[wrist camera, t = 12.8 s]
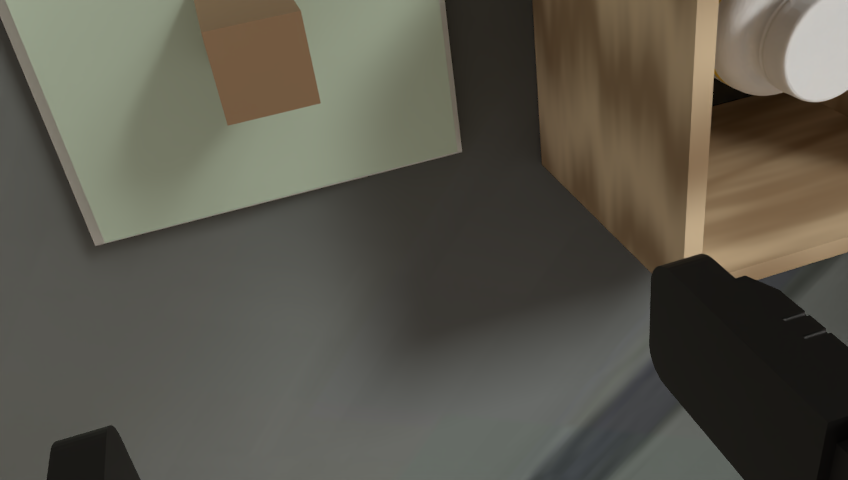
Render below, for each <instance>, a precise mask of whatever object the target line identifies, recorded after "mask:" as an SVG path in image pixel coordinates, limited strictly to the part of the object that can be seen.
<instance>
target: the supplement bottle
mask: <svg viewBox="0 0 848 480" xmlns="http://www.w3.org/2000/svg"><path fill="white" fill-rule="evenodd" d="M714 78H716V79H717V80H719V81H721V82H723V83H724V84H727V85H728V86H730V87H732V88H734V89H737V90H739V91H741V92H744V93H747V94H751V95H756V96H769V95H775V94H779V93H783V92H784V93H787V94H789V95H791V96H793V97H795V98H797V99H800V100H802V101H806V102H823V101H827V100H830V99H833V98H835V97H837V96H839V95H841V94H842V93H844V92H846V91H847V90H848V0H719V7H718V23H717V38H716V53H715V68H714Z"/></svg>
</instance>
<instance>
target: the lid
mask: <svg viewBox="0 0 848 480" xmlns="http://www.w3.org/2000/svg"><path fill="white" fill-rule="evenodd" d="M5 1H6V3H7V6H8V8H9V10H10V13H11V15H12V18H13V20H14V23H15V25H16V27H17V30H18V32H19V35H20V37H21V40H22V42H23V44H24V47H25V49H26V52H27V54H28V57H29V59H30V62H31V64H32V66H33V69H34V71H35V74H36V76H37V79H38V81H39V83H40V86H41V88H42V91H43V93H44V96H45V98H46V101H47V103H48V105H49V108H50V110H51V113H52V115H53V118H54V120H55V122H56V125H57V127H58V130H59V132H60V135H61V137H62V139H63V142H64V144H65V147H66V149H67V152H68V154H69V157H70V159H71V161H72V164H73V166H74V169H75V171H76V174H77V176H78V178H79V181H80V183H81V186H82V188H83V191H84V193H85V195H86V198H87V200H88V203H89V205H90V208H91V210H92V213H93V215H94V217H95V220H96V222H97V225H98V227H99V230H100V232H101V234H102V237H103V239H104V242H105V243H107V242H110V241H114V240H118V239H122V238H126V237H130V236H134V235H138V234H141V233H145V232H149V231H153V230H157V229H161V228H165V227H168V226H172V225H176V224H180V223H184V222H188V221H192V220H195V219H199V218H203V217H207V216H211V215H215V214H219V213H222V212H226V211H230V210H234V209H238V208H242V207H246V206H249V205H253V204H257V203H261V202H265V201H269V200H273V199H276V198H280V197H284V196H288V195H292V194H296V193H300V192H303V191H307V190H311V189H315V188H319V187H323V186H327V185H331V184H334V183H338V182H342V181H346V180H350V179H354V178H358V177H361V176H365V175H369V174H373V173H377V172H381V171H385V170H388V169H392V168H396V167H400V166H404V165H408V164H412V163H415V162H419V161H423V160H427V159H431V158H435V157H439V156H442V155H446V154H450V153H454V152H458V151H457V143H456V134H455V126H454V118H453V110H452V102H451V94H450V86H449V77H448V69H447V61H446V53H445V45H444V37H443V28H442V20H441V12H440V4H439V0H5Z"/></svg>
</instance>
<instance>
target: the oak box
mask: <svg viewBox="0 0 848 480" xmlns="http://www.w3.org/2000/svg"><path fill="white" fill-rule="evenodd" d="M532 2H533V19H534V36H535V54H536V71H537V89H538V106H539V123H540V141H541V158H542V165H543V166H544V167H545V168H546V169H547V170H548V171H549V172H550V173H551V174H552V175H553V176H554V177H555V178H556V179H557V180H558V181H559V182H560V183H561V184H562V185H563V186H564V187H565V188H566V189H567V190H568V191H569V192H570V193H571V194H572V195H573V196H574V197H575V198H576V199H577V200H578V201H579V202H580V203H581V204H582V205H583V206H584V207H585V208H586V209H587V210H588V211H589V212H590V213H591V214H592V215H593V216H594V217H595V218H596V219H597V220H598V221H599V222H600V223H601V224H602V225H603V226H604V227H605V228H606V229H607V230H608V231H609V232H611V233H612V234H613V235H614V236H615V237H616V238H617V239H618V240H619V241H620V242H621V243H622V244H623V245H624V246H625V247H626V248H627V249H628V250H629V251H630V252H631V253H632V254H633V255H634V256H635V257H636V258H637V259H638V260H639V261H640V262H641V263H642V264H643V265H644V266H645V267H646V268H647V269H648V270H649V271H650V272H651V273H653V270H654V269H655V268H656V267H657V266H660V265H664V264H667V263H670V262H674V261H677V260H681V259H684V258H687V257H691V256H694V255H698V254H706V255H708V256H710V257H711V258H713V259H714V260H715V261H716V262H717V263H718V264H720V265H721V266H722V267H723V268H724V269H725V270H727V271H728V272H729V273H730V274H731V275H732V276H733V277H735V278H738V277H742V276H748V277H750V278H752V279H755V280H758V279H762V278H765V277H768V276H771V275H775V274H778V273H781V272H784V271H788V270H791V269H794V268H797V267H801V266H804V265H807V264H810V263H814V262H817V261H820V260H823V259H827V258H830V257H833V256H836V255H840V254H843V253H846V252H848V90H847V91H846V92H844V93H842V94H841V95H839V96H837V97H835V98H833V99H830V100H827V101H823V102H806V101H802V100H800V99H797V98H795V97H793V96H791V95H789V94H787V93H784V92H783V93H779V94H775V95H769V96H756V95H754V96H750V97H747V98H743V99H739V100H735V101H731V102H727V103H724V104H720V105H716V106H712V98H713V83H714V68H715V53H716V38H717V23H718V7H719V0H532Z"/></svg>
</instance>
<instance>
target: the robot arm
mask: <svg viewBox="0 0 848 480" xmlns="http://www.w3.org/2000/svg"><path fill="white" fill-rule="evenodd" d="M649 347H650V354H651V358H652V361H653V364H654V367H655V369H656V372H657V374H658V375H659V377H660V379H661V381H662V382H663V383H664V385H665V386H666V387H667V388H668V390H669V391H670V392H671V393H672V394H673V395H674V397H675V398H676V399H677V400H678V401H679V403H680V404H681V405H682V406H683V407H684V409H685V410H686V411H687V412H688V413H689V415H690V416H691V417H692V418H693V419H694V421H695V422H696V423H697V424H698V425H699V426H700V428H701V429H702V430H703V431H704V432H705V434H706V435H707V436H708V437H709V438H710V440H711V441H712V442H713V443H714V444H715V446H716V447H717V448H718V449H719V450H720V451H721V453H722V454H723V455H724V456H725V457H726V459H727V460H728V461H729V462H730V463H731V465H732V466H733V467H734V468H735V469H736V471H737V472H738V473H739V474H740V475H741V476H742V478H743V479H744V480H848V347H847V346H846V345H845V344H844V343H843V342H841V341H840V340H839V339H838V338H837V337H835V336H834V335H833V334H832V333H829V334H828V333H827V332H826V328H825V327H823V326H822V325H821V324H820V323H818V322H817V321H816V320H815V319H814V318H812V317H811V316H810V315H809V316H806V315H805V311H804V310H803V309H802V308H800V307H799V306H798V305H797V304H796V303H794V302H793V301H792V300H791V299H789V298H788V297H787V296H786V295H785V294H783V293H782V292H781V291H780V290H778V289H776V288H773V287H771V286H769V285H766V284H764V283H762V282H759V281H757V280H755V279H752V278H750V277H748V276H742V277H738V278H735V277H733V276H732V275H731V274H730V273H729V272H728V271H727V270H725V269H724V268H723V267H722V266H721V265H720V264H718V263H717V262H716V261H715V260H714V259H713V258H711V257H710V256H708V255H706V254H698V255H694V256H691V257H687V258H684V259H681V260H677V261H674V262H670V263H667V264H664V265H660V266H657V267H656V268H655V269H654V270H653V273H652V277H651V302H650V336H649ZM47 480H140V478H139V476H138V473H137V471H136V469H135V467H134V465H133V463H132V461H131V458H130V456H129V454H128V452H127V450H126V448H125V446H124V443H123V441H122V439H121V437H120V435H119V433H118V431H117V430H116V429H115V427H113V426H111V425H110V426H107V427H103V428H100V429H97V430H93V431H90V432H86V433H83V434H80V435H76V436H73V437H69V438H66V439H63V440H59V441H56V442H54V443H53V445H52V448H51V452H50V459H49V467H48V474H47Z"/></svg>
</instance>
